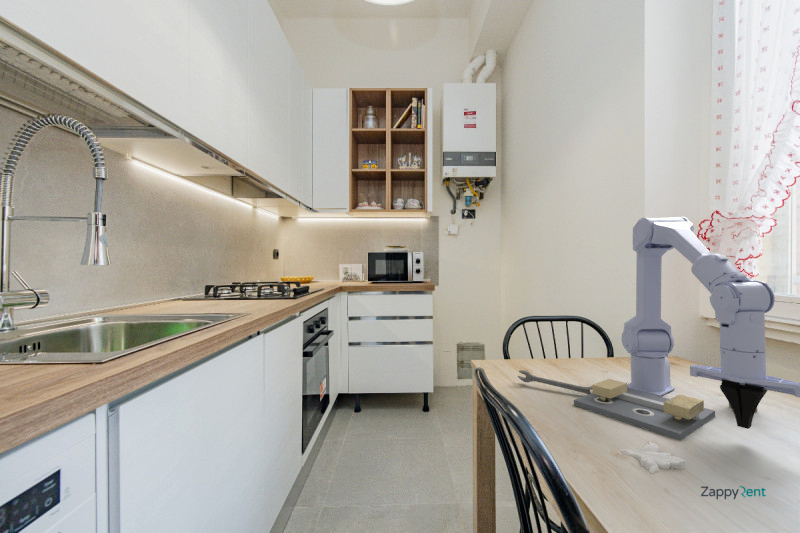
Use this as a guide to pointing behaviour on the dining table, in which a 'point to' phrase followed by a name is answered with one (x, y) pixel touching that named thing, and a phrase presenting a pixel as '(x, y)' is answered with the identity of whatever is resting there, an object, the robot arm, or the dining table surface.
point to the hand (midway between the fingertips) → (744, 426)
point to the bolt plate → (639, 409)
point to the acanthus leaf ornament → (655, 458)
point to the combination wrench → (553, 382)
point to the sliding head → (683, 407)
